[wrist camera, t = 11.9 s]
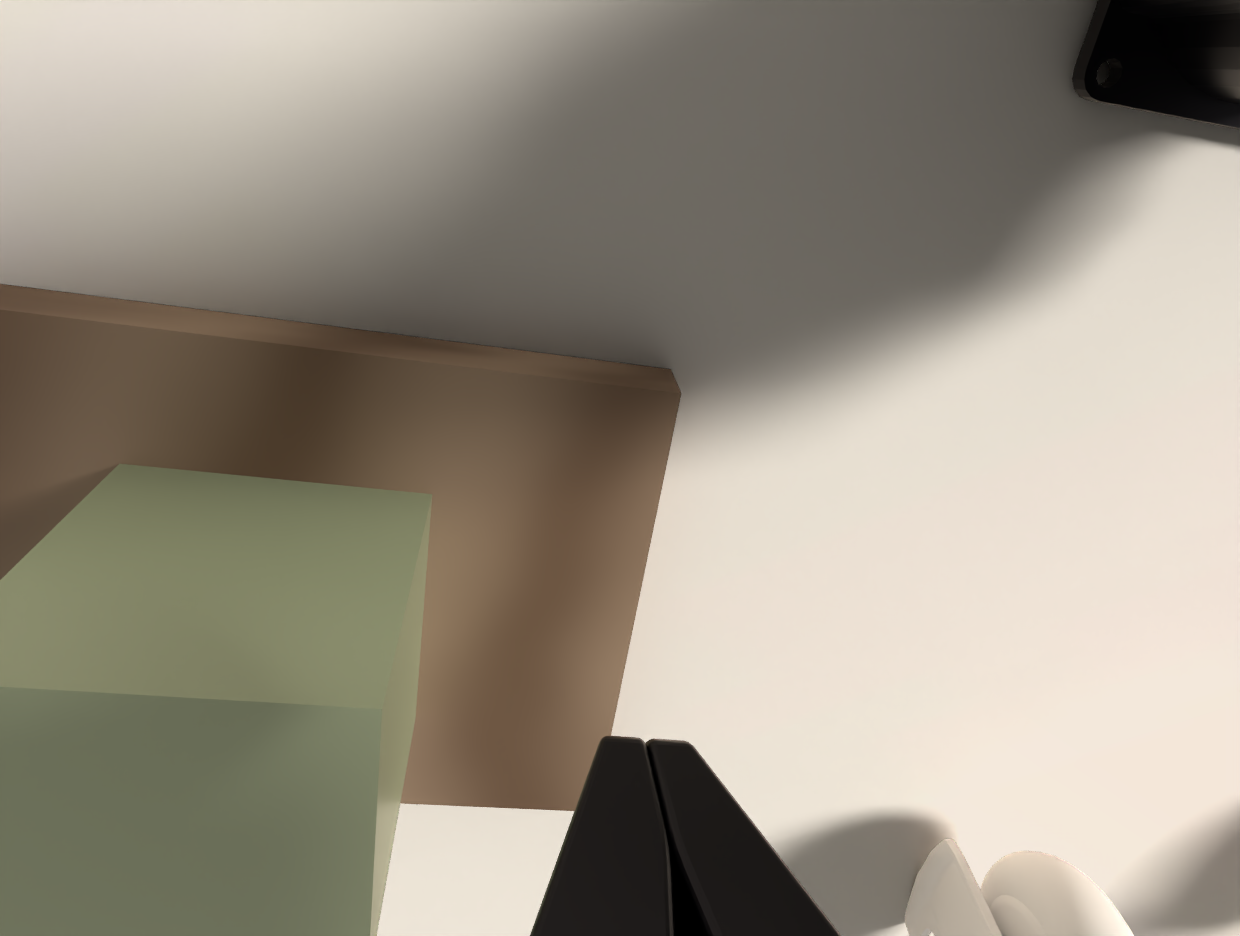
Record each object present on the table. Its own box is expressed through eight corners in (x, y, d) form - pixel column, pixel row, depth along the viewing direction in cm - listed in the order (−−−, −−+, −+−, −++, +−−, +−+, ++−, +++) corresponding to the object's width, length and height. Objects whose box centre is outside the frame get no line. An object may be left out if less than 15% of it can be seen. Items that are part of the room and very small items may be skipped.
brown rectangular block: (670, 369, 19) (735, 515, 13) (591, 769, 24) (611, 1008, 18) (-133, 266, 16) (-522, 387, 10) (-32, 737, 21) (-253, 1002, 15)
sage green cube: (432, 494, 18) (382, 709, 12) (415, 718, 20) (367, 985, 15) (119, 464, 17) (-104, 680, 11) (143, 702, 20) (-26, 981, 14)
